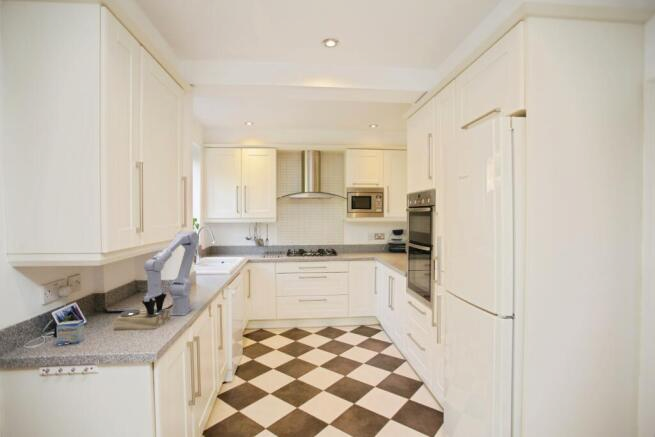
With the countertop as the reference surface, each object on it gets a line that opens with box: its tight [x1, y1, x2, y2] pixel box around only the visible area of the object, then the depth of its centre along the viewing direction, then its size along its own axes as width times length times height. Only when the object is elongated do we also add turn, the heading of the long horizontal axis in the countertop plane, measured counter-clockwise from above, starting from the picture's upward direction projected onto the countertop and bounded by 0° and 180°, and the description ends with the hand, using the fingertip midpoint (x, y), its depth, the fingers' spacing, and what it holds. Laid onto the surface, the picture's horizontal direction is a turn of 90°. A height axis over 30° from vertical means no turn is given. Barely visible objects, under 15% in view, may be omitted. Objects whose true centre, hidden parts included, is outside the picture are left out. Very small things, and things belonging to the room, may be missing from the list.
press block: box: [113, 308, 171, 331], centre depth 147 cm, size 13×19×5 cm
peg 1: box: [119, 308, 141, 317], centre depth 147 cm, size 8×8×5 cm
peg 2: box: [146, 308, 165, 317], centre depth 147 cm, size 8×8×5 cm
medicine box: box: [56, 319, 85, 345], centre depth 127 cm, size 8×4×9 cm, turn 106°
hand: (155, 311), depth 147 cm, fingers open, 7 cm apart
